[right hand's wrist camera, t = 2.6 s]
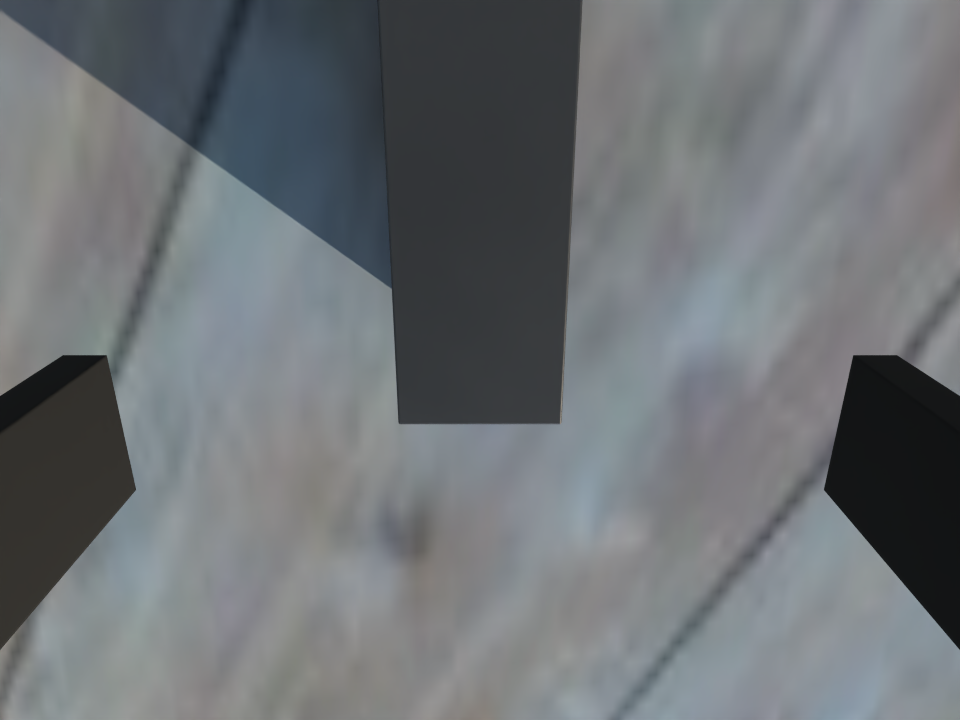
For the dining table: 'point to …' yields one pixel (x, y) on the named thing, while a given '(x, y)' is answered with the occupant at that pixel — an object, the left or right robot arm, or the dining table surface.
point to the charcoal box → (479, 203)
